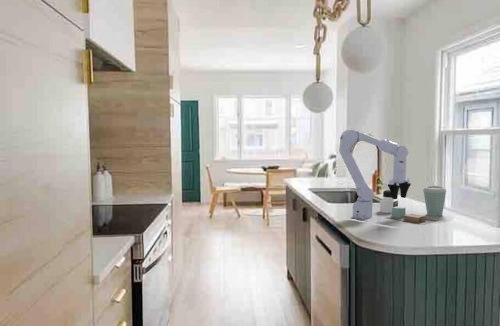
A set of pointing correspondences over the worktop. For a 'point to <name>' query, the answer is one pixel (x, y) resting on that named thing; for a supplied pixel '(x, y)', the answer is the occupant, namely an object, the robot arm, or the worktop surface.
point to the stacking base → (413, 219)
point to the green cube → (398, 212)
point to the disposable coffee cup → (434, 199)
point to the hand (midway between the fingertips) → (399, 198)
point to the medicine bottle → (387, 202)
